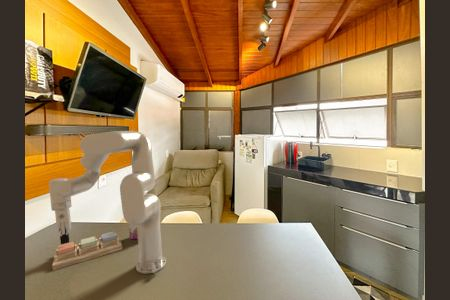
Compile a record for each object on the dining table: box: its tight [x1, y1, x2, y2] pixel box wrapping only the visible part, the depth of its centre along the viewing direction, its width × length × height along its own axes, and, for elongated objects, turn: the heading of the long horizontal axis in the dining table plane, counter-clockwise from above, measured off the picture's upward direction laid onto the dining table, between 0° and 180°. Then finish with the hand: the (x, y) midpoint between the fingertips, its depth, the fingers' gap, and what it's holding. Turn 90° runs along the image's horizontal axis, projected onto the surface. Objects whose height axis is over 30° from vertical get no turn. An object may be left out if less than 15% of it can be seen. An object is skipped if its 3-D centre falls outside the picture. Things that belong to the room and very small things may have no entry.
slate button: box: [101, 230, 116, 243], centre depth 115 cm, size 6×6×3 cm
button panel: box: [52, 233, 123, 271], centre depth 110 cm, size 14×28×4 cm, turn 124°
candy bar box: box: [128, 224, 138, 240], centre depth 123 cm, size 11×5×16 cm, turn 84°
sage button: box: [80, 235, 96, 249], centre depth 110 cm, size 6×6×3 cm
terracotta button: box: [57, 241, 75, 255], centre depth 105 cm, size 6×6×3 cm
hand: (65, 242), depth 105 cm, fingers closed
